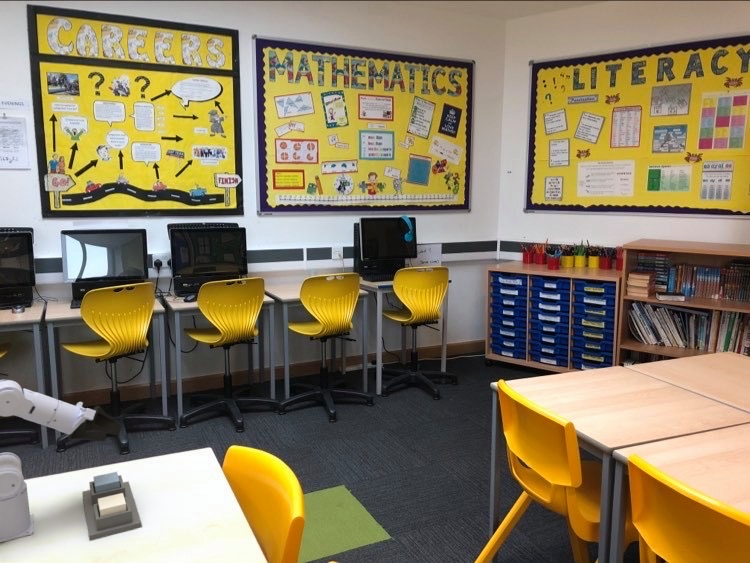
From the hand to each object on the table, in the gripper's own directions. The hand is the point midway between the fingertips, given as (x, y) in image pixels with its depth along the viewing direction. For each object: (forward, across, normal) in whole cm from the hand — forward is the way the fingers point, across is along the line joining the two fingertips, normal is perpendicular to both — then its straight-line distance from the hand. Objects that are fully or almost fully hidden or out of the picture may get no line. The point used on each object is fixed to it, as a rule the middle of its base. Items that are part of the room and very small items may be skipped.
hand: (112, 433), depth 138 cm
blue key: (+6, +8, +9) cm, 14 cm away
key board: (+7, +5, +14) cm, 17 cm away
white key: (+5, -1, +15) cm, 16 cm away
